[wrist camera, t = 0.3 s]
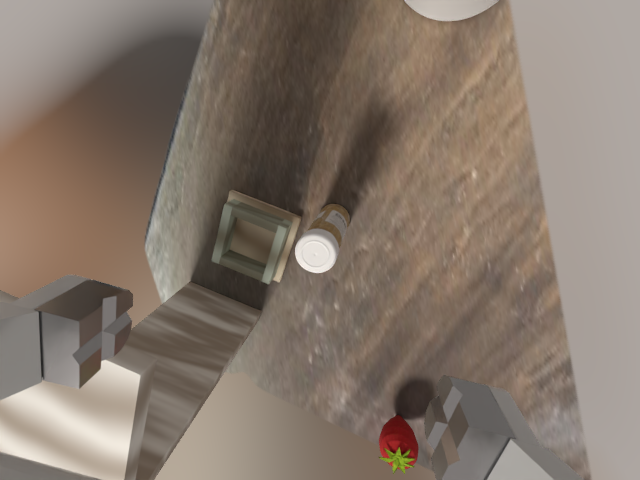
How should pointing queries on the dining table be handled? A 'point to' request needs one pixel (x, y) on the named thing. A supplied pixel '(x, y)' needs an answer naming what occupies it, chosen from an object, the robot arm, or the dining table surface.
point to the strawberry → (398, 444)
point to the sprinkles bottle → (323, 239)
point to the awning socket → (153, 365)
